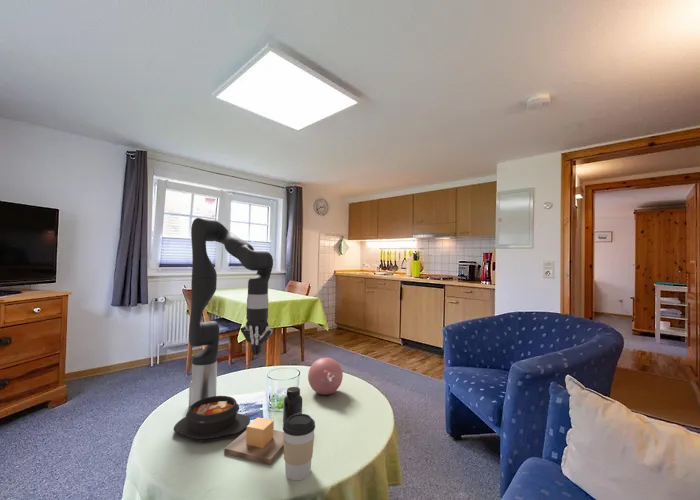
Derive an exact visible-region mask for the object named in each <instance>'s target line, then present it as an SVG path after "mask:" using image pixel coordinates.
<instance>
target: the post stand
mask: <svg viewBox="0 0 700 500" xmlns="http://www.w3.org/2000/svg"><path fill="white" fill-rule="evenodd" d="M246 432H247V429H246V430H245V431H244V430H243V432H242V433H241V434H240V435H238V437H236V438H235V439H234V440H233V441H231V442H230V443H229V444H228V445H226V446H225V447H224V448H223V449H224V450H223V452H224V453H223V454H224V455H225V454H226V455H228V456H229V455H230V456H234V457H238V458H242V459H245V460H249V461H252V462H258V463H260V464H266V465H270V466H271V464H272V463H273V462H274V461H275V460H276V459H277V458H278V456H279V455H280V454H281V453H282V452H284V441H283V436H284V431H283V430H282V431H281V430H275V429H273V438H272V439H271V440H270V441H269V442H268V443H267V444H266V445H265V446H264V447H263V448H260V447H256V446H252V445H247V444H246Z"/></svg>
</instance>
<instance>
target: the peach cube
mask: <svg viewBox="0 0 700 500" xmlns="http://www.w3.org/2000/svg"><path fill="white" fill-rule="evenodd" d="M274 421H275V420H273V419H268V418H263V417H260V416H259V417H258V416H257V417H256V418H255V419H254V420H253V421H252V422H251V421H250V423H249V425H248V426H247V427H246V430H247V432H246V444H247V445H252V446H256V447H260V448H263V447H264V446H265V445H266V444H267V443H268V442H269V441H270V440H271V439H272V438H273V430H275V429H274V428H275V427H274V424H275V423H274Z"/></svg>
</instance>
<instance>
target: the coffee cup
mask: <svg viewBox="0 0 700 500" xmlns="http://www.w3.org/2000/svg"><path fill="white" fill-rule="evenodd" d="M282 423H283V422H282ZM315 429H316V421H315V420H314V419H313V418H312V416H310V415H309V414H308V413H307V414H306V413H302V414H295V415H292V416H290V417H289V418H288V419H287V420H286V421H285V422H284V423H283V424H282V432H284V436H283V441H284V449H283V457H284V458H283V459H284V467H285V468H284V469H285V476H286V478H287V479H289V480H291V481H301V480H305V479H307V478H308V477H309V475H310V474H311V469H312V459H313V453H314V444H315V443H314V440H315Z"/></svg>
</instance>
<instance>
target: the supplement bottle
mask: <svg viewBox="0 0 700 500" xmlns="http://www.w3.org/2000/svg"><path fill="white" fill-rule="evenodd" d="M282 405H283V407H282V408H283V410H282V423H284V422H285V421H286V420H287V419H288V418H289V417H290V416H292V415H295V414H303V397H302V395H301V388H300V387H298V386H291V387H288V388H287V389H286V396H285V397H284V398H283V404H282Z"/></svg>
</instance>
